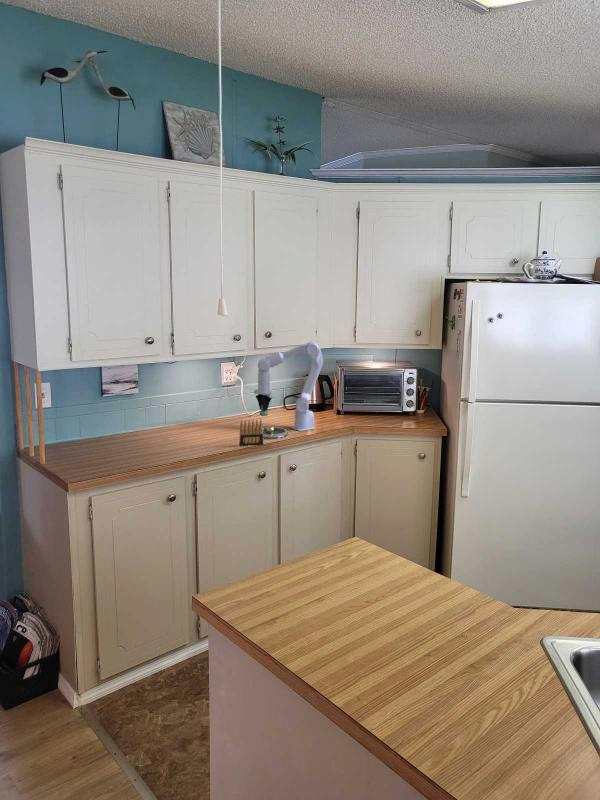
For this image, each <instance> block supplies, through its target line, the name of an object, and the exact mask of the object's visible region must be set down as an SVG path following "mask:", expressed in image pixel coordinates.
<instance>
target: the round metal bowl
mask: <svg viewBox="0 0 600 800" xmlns="http://www.w3.org/2000/svg"><path fill="white" fill-rule="evenodd" d="M262 428H263V438H264V439H263V440H277V438H280V439H283V437H284V438H286V437H288V436H287V435H289V434H288V430H287V428H284V427H278V426H262Z"/></svg>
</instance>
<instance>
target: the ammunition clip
mask: <svg viewBox="0 0 600 800" xmlns="http://www.w3.org/2000/svg"><path fill="white" fill-rule="evenodd" d="M262 427H263V421H262V418H260V420H258V419H257V418H256V421H255V420H254V419H252V421H251V419H249V420H248V422H247V419H245V420H244V423H243V419H241V420H240V426H239V444H238V445H239V447H249V446H248V445H254V446H264V439H263V428H262Z"/></svg>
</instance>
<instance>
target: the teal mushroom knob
mask: <svg viewBox="0 0 600 800" xmlns="http://www.w3.org/2000/svg"><path fill="white" fill-rule="evenodd" d="M268 413H269V411H268V410H265V411H264V410H263V405H261V410H259V416H261V417H265V416H268V415H269V414H268Z"/></svg>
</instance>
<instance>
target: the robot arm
mask: <svg viewBox="0 0 600 800" xmlns="http://www.w3.org/2000/svg"><path fill="white" fill-rule="evenodd" d="M299 354H302V355H306V354H307V355H308V356H309V357H310V358H311V360H312V362H313V363H312V366H311V368H310V370H309V373H308V376H307V379H306V380H305V383H304V386H303V389H302V390H301V391H302V392H301V393H300V395H299V397H297V399H296V400H295V410H294V426H291V427H290V428H291V429H293V430H296V431H299V432H302V431H309V430H315V429H316V427H315V415H314V412H313V411H312V410H309V407H310V405H309V404H310V399H311V397H312V393H313V390H314V388H315V385H316V382H317V379H318V378H319V375H320V372H321V369H322V367H323V364H324V359H323V354H322V350H321V348H320V346H319V344H318V343H317V342H316V341H313V340H311V341H308V342H305V343H301V344H299V345H297V346H295V347H293V348H291V349H289V350H286V351H283V352H280V351H278V352H277V351H274V352H273V354H271V355H268V356H267V355H266V356H265V358H261V359H259V360H258V363H257V368H258V369H257V370H258V371H257V389H253V390H254V391H253V393H254V394H257V395H255V398H256V400H257V403H258V407H259V411H261V405H263V410H264V411H265V410H266V411H268V409H269V406H270V403H271V401H272V399H273V398H274V397H275V396H274V393H272V391H270V382H271V381H270V378H271V377H270V375H271V374H270V368H274V367H277V366H279V365H282V364H283V363H284V362H285V360H286V359H289V358H291V357H293V356H296V355H299Z"/></svg>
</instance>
